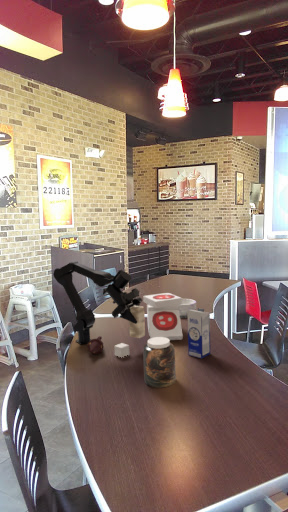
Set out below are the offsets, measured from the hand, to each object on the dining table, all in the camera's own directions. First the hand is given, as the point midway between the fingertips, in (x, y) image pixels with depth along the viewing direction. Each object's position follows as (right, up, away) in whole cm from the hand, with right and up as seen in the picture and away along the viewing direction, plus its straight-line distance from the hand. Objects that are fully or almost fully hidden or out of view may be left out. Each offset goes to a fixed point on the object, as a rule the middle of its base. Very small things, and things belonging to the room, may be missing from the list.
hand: (139, 321), depth 164 cm
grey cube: (-8, -14, -3) cm, 16 cm away
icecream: (-19, -14, +1) cm, 24 cm away
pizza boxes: (+12, -11, +23) cm, 28 cm away
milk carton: (+26, -13, -5) cm, 29 cm away
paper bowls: (+26, -6, +59) cm, 65 cm away
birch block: (-1, -7, +1) cm, 7 cm away
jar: (+8, -17, -28) cm, 34 cm away
